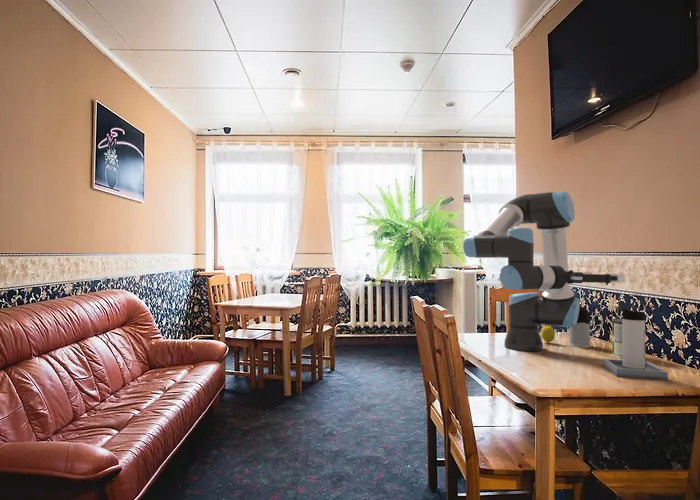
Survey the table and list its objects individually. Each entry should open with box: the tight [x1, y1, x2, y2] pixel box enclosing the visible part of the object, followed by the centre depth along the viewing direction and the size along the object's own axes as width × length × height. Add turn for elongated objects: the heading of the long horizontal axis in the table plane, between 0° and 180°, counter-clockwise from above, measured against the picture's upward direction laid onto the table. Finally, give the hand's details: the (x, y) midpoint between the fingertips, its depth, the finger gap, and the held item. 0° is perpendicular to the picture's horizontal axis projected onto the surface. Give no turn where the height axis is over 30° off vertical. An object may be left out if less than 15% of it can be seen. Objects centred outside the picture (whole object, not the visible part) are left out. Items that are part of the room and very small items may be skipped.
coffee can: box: [611, 318, 623, 359], centre depth 161 cm, size 10×10×14 cm
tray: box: [602, 358, 669, 381], centre depth 138 cm, size 14×14×2 cm
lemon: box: [540, 325, 556, 344], centre depth 186 cm, size 6×6×8 cm
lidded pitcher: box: [567, 309, 604, 349], centre depth 181 cm, size 9×14×15 cm, turn 84°
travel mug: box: [621, 308, 646, 370], centre depth 138 cm, size 6×7×20 cm
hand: (607, 277), depth 137 cm, fingers open, 13 cm apart
